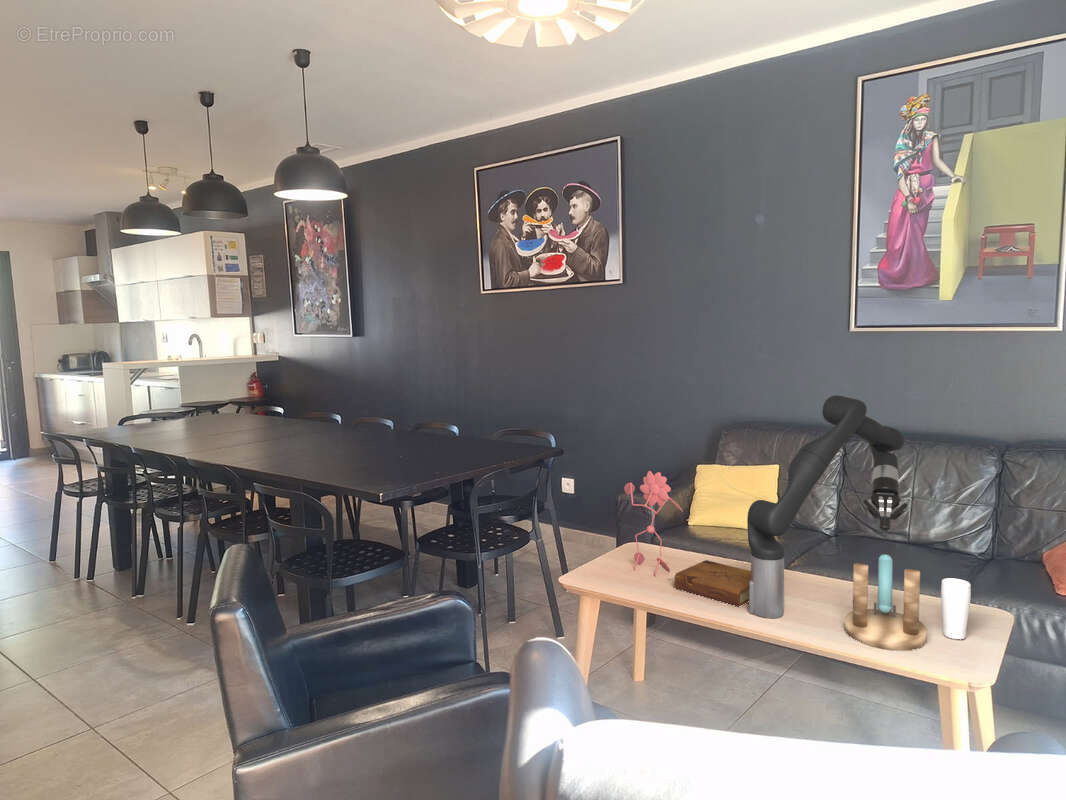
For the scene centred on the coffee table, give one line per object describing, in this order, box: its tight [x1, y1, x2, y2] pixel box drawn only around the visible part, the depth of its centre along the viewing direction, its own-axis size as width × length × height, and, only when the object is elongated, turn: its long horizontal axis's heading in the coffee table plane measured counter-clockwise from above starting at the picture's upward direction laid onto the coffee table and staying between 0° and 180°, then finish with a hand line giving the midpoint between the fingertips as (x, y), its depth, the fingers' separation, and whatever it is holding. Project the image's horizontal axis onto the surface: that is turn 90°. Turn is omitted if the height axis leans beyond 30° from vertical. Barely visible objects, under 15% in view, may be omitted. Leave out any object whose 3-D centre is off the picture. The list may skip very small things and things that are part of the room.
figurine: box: [623, 470, 684, 581], centre depth 244 cm, size 15×26×35 cm, turn 43°
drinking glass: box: [940, 577, 972, 641], centre depth 185 cm, size 7×7×15 cm
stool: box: [843, 562, 928, 652], centre depth 187 cm, size 20×20×20 cm
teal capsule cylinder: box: [877, 554, 894, 614], centre depth 196 cm, size 4×4×17 cm
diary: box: [674, 559, 751, 608], centre depth 223 cm, size 23×19×6 cm
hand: (884, 529), depth 212 cm, fingers closed
